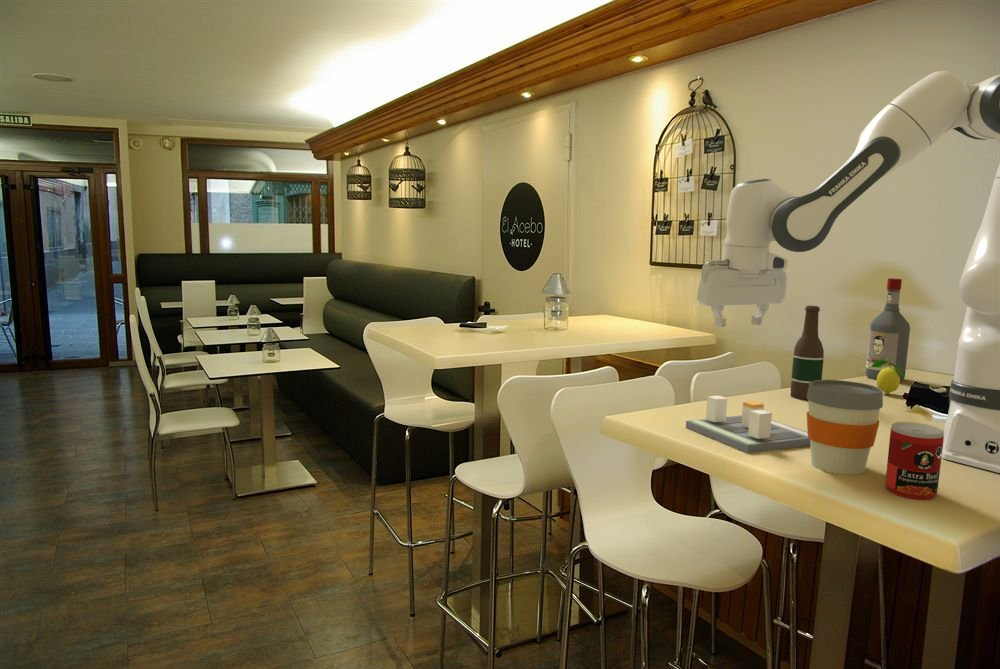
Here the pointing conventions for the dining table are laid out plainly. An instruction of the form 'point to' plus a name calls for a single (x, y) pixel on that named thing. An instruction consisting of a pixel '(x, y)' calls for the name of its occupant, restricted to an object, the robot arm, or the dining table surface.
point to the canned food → (914, 460)
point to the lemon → (888, 376)
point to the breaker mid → (746, 411)
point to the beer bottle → (807, 356)
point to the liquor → (888, 334)
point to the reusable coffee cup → (842, 424)
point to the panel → (739, 438)
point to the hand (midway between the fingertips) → (738, 325)
